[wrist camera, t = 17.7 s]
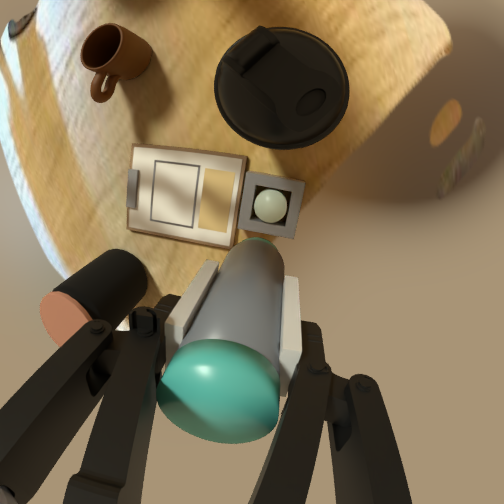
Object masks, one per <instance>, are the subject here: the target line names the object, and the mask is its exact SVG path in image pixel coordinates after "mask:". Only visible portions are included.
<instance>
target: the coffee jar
mask: <svg viewBox="0 0 504 504" xmlns="http://www.w3.org/2000/svg"><path fill="white" fill-rule="evenodd" d="M146 289H147V276H146V273H145V269H144V267H143V266H142V264H141V262H140V261H139V260H138V259H137V258H136V257H135V256H134V255H132V254H131V253H129V252H127V251H125V250H120V249H112V250H108V251H106V252H105V253H103V254H102V255H100V256H99V257H97V258H96V259H95V260H93V261H92V262H90V263H89V264H87V265H86V266H85V267H83V268H82V269H80V270H79V271H78V272H76V273H75V274H73V275H72V276H71V277H69V278H68V279H67V280H65V281H64V282H63V283H61V284H60V285H59V286H57V287H56V288H55V289H54V290H53V291H52V292H50V293H48V294H47V295H46V296H44V297H43V299H42V301H41V303H40V314H41V318H42V322H43V324H44V326H45V328H46V330H47V332H48V334H49V335H50V337H51V338H52V339H53V341H54V342H55V343H56V344H57V345H58V346H59V347H61V346H62V345H63V344H64V343H65V342H66V341H67V340H68V339H69V338H70V337H71V336H73V335H74V334H75V333H76V332H77V331H78V330H79V329H80V328H81V327H82V326H83V325H84V324H85V323H87V322H88V321H91V320H94V319H101V320H105V321H107V322H109V323H110V325H111V327H112V330H115V329H116V328H117V327H118V326H119V324H120V323H121V322H122V321H123V320H124V318H125V317H126V316H127V315H128V313H129V312H130V311H131V310H132V309H133V308H134V307H135V306H136V304H137V303H138V302H139V301H140V300H141V299H142V297H143V296H144V295H145V293H146Z"/></svg>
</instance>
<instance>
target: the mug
mask: <svg viewBox="0 0 504 504" xmlns="http://www.w3.org/2000/svg"><path fill="white" fill-rule="evenodd" d="M150 60H151V48H150V45H149V44H148V43H147V42H146V41H145V40H144V39H142V38H141V37H139V36H137V35H136V34H134V33H133V32H131V31H129V30H128V29H126V28H124V27H122V26H119V25H117V24H114V23H108V24H104V25H101V26H99V27H97V28H96V29H95V30H93V31H92V32H91V33H90V34H89V36H88V37H87V38H86V40H85V42H84V43H83V46H82V49H81V62H82V64H83V66H84V67H85V68H87V69H88V70H91V71H93V72H96V74H95V76H94V78H93V81H92V83H91V89H90V92H91V97H92V99H93V100H94V101H95V102H98V103H103V102H106V101H107V100H108V99H110V98H111V96H112V95H113V93H114V90H115V86H116V83H117V82H118V80H119V79H122V80H129V79H133V78H135V77H137V76H138V75H140V74H141V73H142V72H143V71H144V70H145V69H146V68H147V66H148V64H149V62H150ZM106 75H107V76H108V78H107V80H106V83H105V87H104V90H103V92H101V87H102V84H103V82H104V79H105V77H106Z"/></svg>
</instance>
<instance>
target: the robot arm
mask: <svg viewBox="0 0 504 504" xmlns="http://www.w3.org/2000/svg"><path fill="white" fill-rule="evenodd" d="M218 267H219V262H216V261H212V260H207V259H206V261H205V262H204V264H203V265H202V267H201V268H200V270H199V271H198V273H197V274H196V276H195V277H194V279H193V280H192V282H191V283H190V285H189V286H188V288H187V289H186V291H185V292H184V294H183V295H182V297H181V296H176V295H172V294H168V295H166V296H164V297H162V298H161V300H160V301H159V302H158V304H157V305H156V306H155V307H154V309H153V308H150V307H137V308H134V309H132V310H131V311H130V312H129V313H128V314H129V326H130V330H129V331H116V330H112V327H111V325H110V323H109V322H107V321H105V320H101V319H94V320H91V321H88V322H87V323H85V324H84V325H83V326H82V327H81V328H80V329H79V330H78V331H77V332H76V333H75V334H74V335H73V336H71V337H70V338H69V339H68V340H67V341H66V342H65V343H64V344H63V345H62V346H61V347H60V348H59V349H58V350H57V351H56V352H55V353H54V354H53V355H52V356H51V357H50V358H49V359H48V360H47V361H46V362H45V363H44V364H43V365H42V366H41V367H40V368H39V369H38V370H37V371H36V372H35V373H34V374H33V375H32V376H31V377H30V378H29V379H28V380H27V381H26V382H25V383H24V384H23V386H22V387H21V388H20V389H19V390H18V391H17V392H16V393H15V394H14V395H13V396H12V397H11V398H10V399H9V400H8V402H7V403H6V404H5V405H4V406H3V407H2V408H1V409H0V504H26V503H27V502H28V501H29V500H30V499H31V498H32V497H33V496H34V495H35V493H36V492H37V491H38V489H39V488H40V486H41V484H42V483H43V482H44V480H45V479H46V477H47V476H48V474H49V473H50V471H51V470H52V468H53V467H54V465H55V464H56V462H57V461H58V459H59V458H60V456H61V455H62V453H63V452H64V451H65V449H66V447H67V446H68V445H69V443H70V442H71V440H72V439H73V438H74V436H75V435H76V433H77V432H78V430H79V429H80V427H81V426H82V425H83V423H84V422H85V420H86V419H87V418H88V416H89V415H90V413H91V412H92V411H93V409H94V408H95V406H96V405H97V404H98V402H99V401H100V399H101V398H102V397H103V395H104V397H103V399H102V402H101V405H100V408H99V411H98V414H97V416H96V419H95V422H94V426H93V429H92V432H91V435H90V438H89V441H88V444H87V448H86V451H85V454H84V458H83V461H82V465H81V468H80V471H79V472H78V473H77V474H74V475H73V476H72V477H71V478H70V480H69V482H68V485H67V489H66V492H65V496H64V500H63V504H141V495H142V488H143V481H144V473H145V467H146V460H147V454H148V448H149V442H150V436H151V430H152V424H153V419H154V413H155V408H156V403H157V399H156V389H157V386H158V384H159V382H160V380H161V378H162V372H161V370H162V368H163V366H164V364H165V370H166V368H167V366H168V364H169V362H170V360H171V358H172V357H173V355H174V353H175V352H176V351H177V349H178V347H179V346H180V344H181V342H182V340H183V338H184V337H185V335H186V333H187V331H188V329H189V327H190V325H191V323H192V321H193V319H194V317H195V315H196V313H197V311H198V309H199V308H200V306H201V304H202V302H203V300H204V298H205V296H206V294H207V292H208V290H209V289H210V287H211V285H212V283H213V281H214V279H215V277H216V275H217V273H218ZM279 364H280V396H284V397H286V394H287V391H288V398H287V401H286V403H285V405H284V408H283V410H282V413H281V414H282V415H281V418H280V421H279V424H278V427H277V429H276V433H275V435H274V438H273V441H272V444H271V446H270V449H269V452H268V455H267V457H266V460H265V463H264V465H263V468H262V471H261V473H260V476H259V478H258V481H257V483H256V486H255V488H254V491H253V493H252V495H251V498H250V500H249V503H248V504H305V502H306V498H307V494H308V490H309V487H310V483H311V478H312V474H313V470H314V466H315V461H316V456H317V452H318V448H319V443H320V438H321V433H322V428H323V423H324V420H325V421H327V424H328V432H329V440H330V448H331V456H332V465H333V474H334V483H335V495H336V504H412V500H411V496H410V492H409V488H408V484H407V480H406V476H405V472H404V468H403V464H402V461H401V457H400V454H399V450H398V447H397V443H396V440H395V437H394V433H393V430H392V426H391V423H390V420H389V417H388V414H387V410H386V407H385V405H384V401H383V398H382V395H381V392H380V390H379V387H378V384H377V383H376V381H375V380H374V379H373V378H371V377H369V376H367V375H363V374H356V375H354V376H352V377H351V378H350V380H348V379H345V378H342V377H340V376H337V375H335V374H334V373H332V371H331V367H330V366H329V365H328V364H327V363H326V362H325V354H324V347H323V340H322V333H321V329H320V327H319V326H318V325H317V324H316V323H313V322H307V321H301V317H300V298H299V283H298V277H293V276H288V275H285V278H284V283H283V290H282V312H281V331H280V348H279Z"/></svg>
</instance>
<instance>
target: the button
mask: <svg viewBox="0 0 504 504" xmlns="http://www.w3.org/2000/svg"><path fill="white" fill-rule="evenodd" d="M254 210H255V213H256V215H257V216H258V217H259V218H260V219H261V220H263V221H265V222H269V223H273V222H277V221H279V220H280V219H282V218H283V217H284V215H285V213H286V210H287V199H286V196H285V195H284V193H283V192H282V191H281V190H279V189H276V188H266V189H264V190H262V191H261V192H260V193H259V195H258V196H257V198H256V200H255V203H254Z"/></svg>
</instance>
